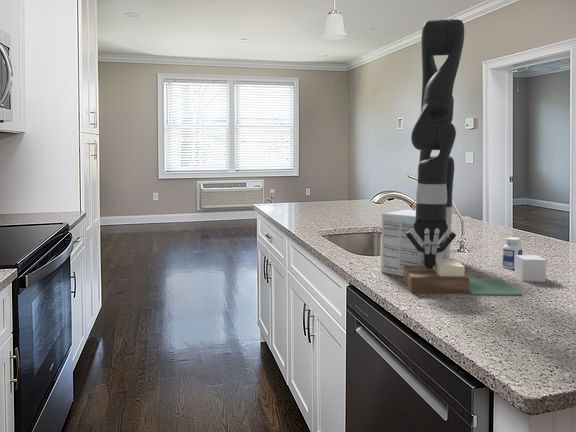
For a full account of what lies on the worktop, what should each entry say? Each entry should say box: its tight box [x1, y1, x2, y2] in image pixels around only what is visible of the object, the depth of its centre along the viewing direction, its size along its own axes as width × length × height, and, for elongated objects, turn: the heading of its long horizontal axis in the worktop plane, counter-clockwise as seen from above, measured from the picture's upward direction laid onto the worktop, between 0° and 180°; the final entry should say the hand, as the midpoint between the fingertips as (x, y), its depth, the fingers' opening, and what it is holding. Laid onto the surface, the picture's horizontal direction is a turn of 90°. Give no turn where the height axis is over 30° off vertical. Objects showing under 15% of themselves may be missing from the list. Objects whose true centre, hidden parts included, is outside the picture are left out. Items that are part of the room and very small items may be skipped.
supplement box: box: [380, 209, 444, 277], centre depth 144 cm, size 13×13×18 cm
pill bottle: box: [502, 237, 523, 270], centre depth 149 cm, size 5×5×9 cm
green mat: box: [469, 278, 523, 296], centre depth 128 cm, size 14×12×1 cm
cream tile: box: [433, 258, 466, 276], centre depth 128 cm, size 9×6×2 cm, turn 175°
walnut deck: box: [402, 266, 470, 295], centre depth 128 cm, size 12×14×4 cm
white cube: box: [514, 254, 548, 282], centre depth 136 cm, size 6×6×6 cm
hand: (429, 267), depth 128 cm, fingers closed
